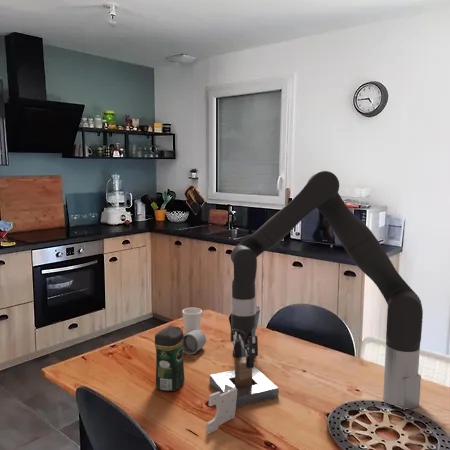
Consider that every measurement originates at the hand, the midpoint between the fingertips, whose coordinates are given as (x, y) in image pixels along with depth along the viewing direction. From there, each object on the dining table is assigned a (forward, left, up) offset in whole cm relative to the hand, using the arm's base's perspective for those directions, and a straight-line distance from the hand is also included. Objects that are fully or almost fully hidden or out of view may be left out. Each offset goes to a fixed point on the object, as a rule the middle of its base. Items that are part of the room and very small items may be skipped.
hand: (243, 362), depth 137 cm
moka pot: (+24, -12, -10) cm, 29 cm away
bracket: (-13, +14, -10) cm, 21 cm away
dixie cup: (+51, -1, -10) cm, 52 cm away
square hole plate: (0, 0, -9) cm, 9 cm away
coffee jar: (+12, +20, -10) cm, 25 cm away
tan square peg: (0, 0, -9) cm, 9 cm away
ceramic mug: (+36, +5, -10) cm, 37 cm away
